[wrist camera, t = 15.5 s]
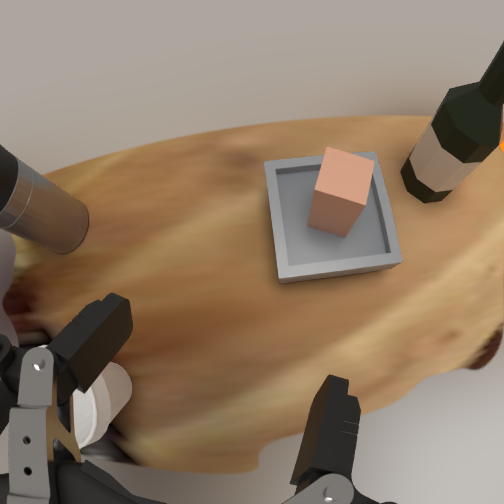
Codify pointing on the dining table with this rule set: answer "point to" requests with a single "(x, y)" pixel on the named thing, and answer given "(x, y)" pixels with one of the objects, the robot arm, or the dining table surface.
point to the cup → (100, 403)
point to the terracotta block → (340, 191)
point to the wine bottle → (458, 136)
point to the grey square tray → (321, 242)
